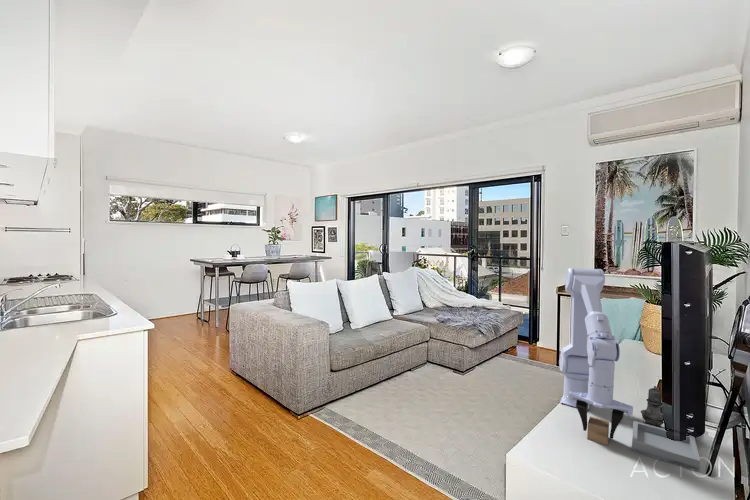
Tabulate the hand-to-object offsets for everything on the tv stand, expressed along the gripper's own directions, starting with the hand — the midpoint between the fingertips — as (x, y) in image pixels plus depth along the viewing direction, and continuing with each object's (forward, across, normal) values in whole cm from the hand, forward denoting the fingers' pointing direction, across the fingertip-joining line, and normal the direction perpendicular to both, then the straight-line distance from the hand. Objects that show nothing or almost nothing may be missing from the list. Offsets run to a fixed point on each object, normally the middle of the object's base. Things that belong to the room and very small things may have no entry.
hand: (598, 432), depth 99 cm
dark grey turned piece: (+2, +12, +17) cm, 21 cm away
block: (+2, 0, 0) cm, 2 cm away
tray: (+1, +14, +5) cm, 15 cm away
